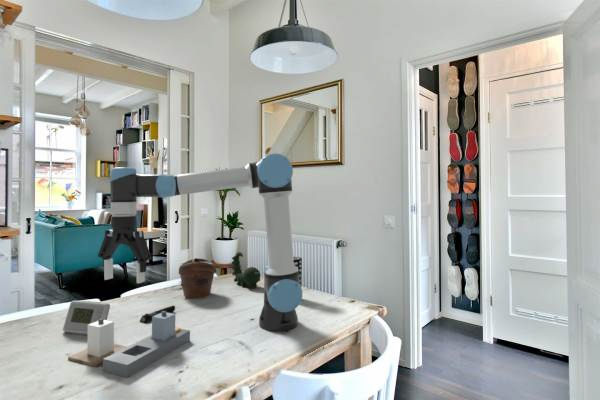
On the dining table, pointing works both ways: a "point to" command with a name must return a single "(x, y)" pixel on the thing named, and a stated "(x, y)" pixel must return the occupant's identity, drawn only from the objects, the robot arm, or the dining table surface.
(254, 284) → the toy figurine
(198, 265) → the brown flower pot
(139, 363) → the grey long flat block
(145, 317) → the electric trimmer
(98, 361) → the walnut mat
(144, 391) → the dining table surface
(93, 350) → the block
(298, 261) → the white-spotted black cylinder
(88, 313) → the digital clock
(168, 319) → the block
